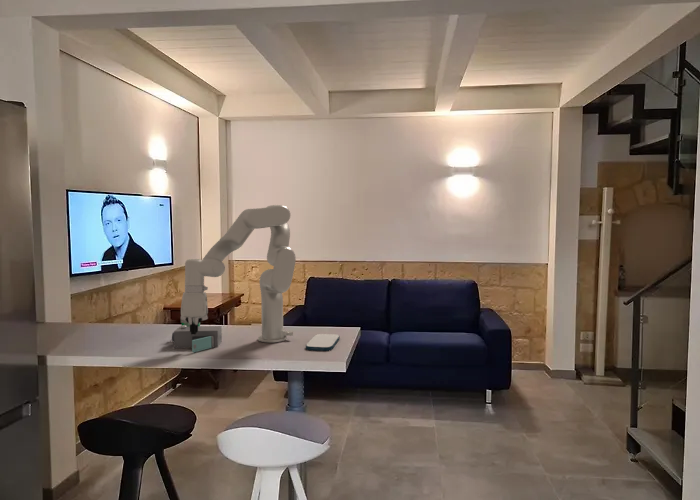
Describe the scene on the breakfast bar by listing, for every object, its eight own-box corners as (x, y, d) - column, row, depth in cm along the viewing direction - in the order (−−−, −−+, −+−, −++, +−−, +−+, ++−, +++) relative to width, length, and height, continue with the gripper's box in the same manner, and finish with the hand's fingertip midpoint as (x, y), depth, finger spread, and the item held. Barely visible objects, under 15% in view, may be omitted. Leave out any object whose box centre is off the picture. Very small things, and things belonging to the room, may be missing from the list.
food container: (193, 340, 223) (193, 318, 222) (181, 340, 224) (180, 318, 223) (206, 334, 235) (206, 313, 234) (194, 334, 236) (194, 312, 235)
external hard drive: (316, 337, 230) (316, 333, 230) (341, 338, 229) (341, 334, 229) (303, 351, 207) (303, 346, 207) (331, 352, 205) (331, 347, 205)
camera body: (221, 341, 221) (221, 323, 220) (217, 347, 211) (217, 328, 211) (176, 342, 219) (175, 324, 219) (170, 348, 210) (169, 329, 209)
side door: (212, 347, 211) (212, 335, 211) (214, 347, 210) (214, 336, 210) (192, 352, 203) (191, 340, 202) (194, 353, 202) (194, 340, 202)
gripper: (214, 288, 209) (214, 332, 210) (178, 287, 208) (177, 331, 209) (211, 290, 202) (210, 336, 203) (173, 290, 201) (172, 335, 202)
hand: (193, 333), depth 206 cm, fingers closed
